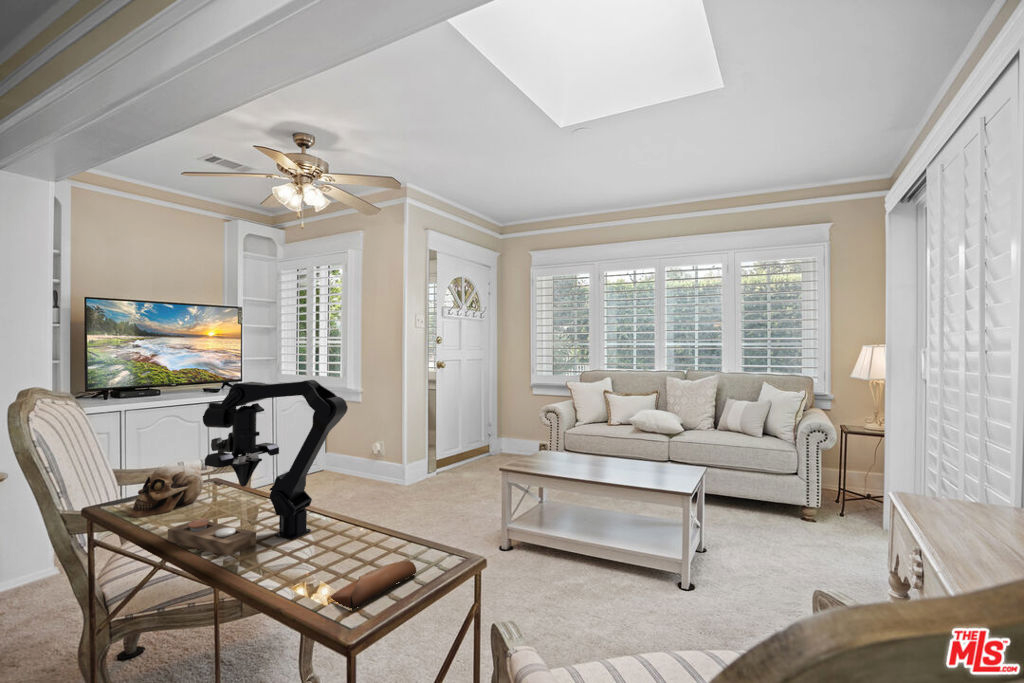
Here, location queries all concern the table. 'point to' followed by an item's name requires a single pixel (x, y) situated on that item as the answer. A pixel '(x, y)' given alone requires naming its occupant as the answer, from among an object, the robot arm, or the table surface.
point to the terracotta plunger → (198, 525)
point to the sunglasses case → (373, 584)
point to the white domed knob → (225, 532)
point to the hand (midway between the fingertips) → (243, 486)
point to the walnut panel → (212, 538)
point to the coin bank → (167, 490)
